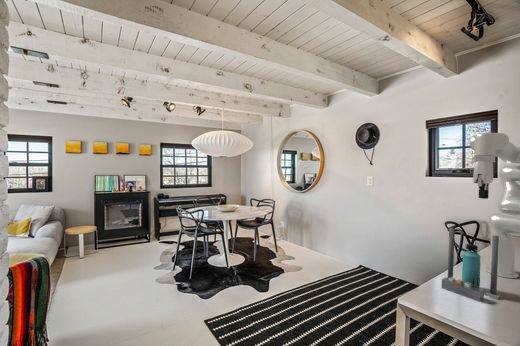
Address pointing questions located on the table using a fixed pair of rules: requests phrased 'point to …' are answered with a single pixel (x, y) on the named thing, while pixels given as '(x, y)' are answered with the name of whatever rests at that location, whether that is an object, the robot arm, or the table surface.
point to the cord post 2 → (494, 269)
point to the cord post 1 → (451, 252)
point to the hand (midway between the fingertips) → (483, 198)
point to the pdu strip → (463, 288)
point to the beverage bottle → (471, 266)
